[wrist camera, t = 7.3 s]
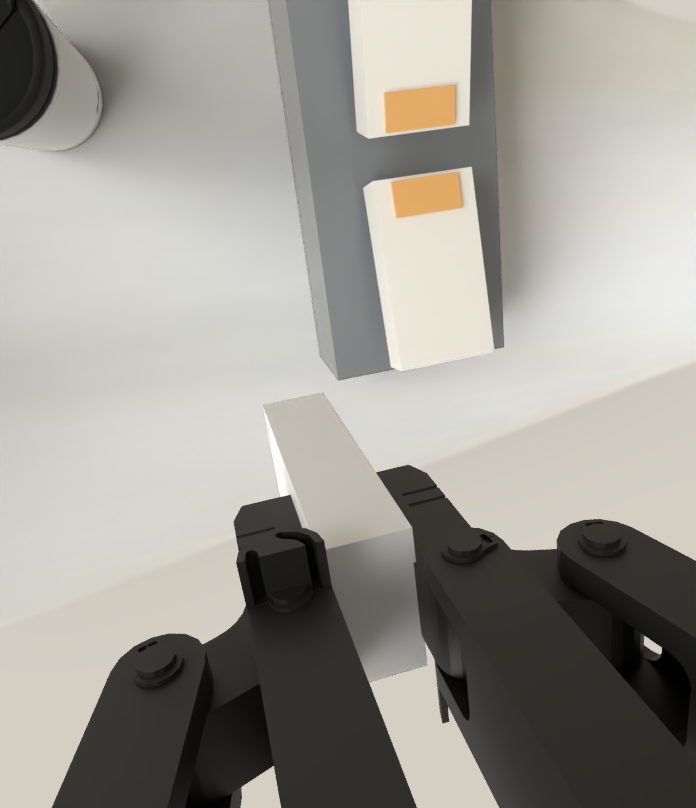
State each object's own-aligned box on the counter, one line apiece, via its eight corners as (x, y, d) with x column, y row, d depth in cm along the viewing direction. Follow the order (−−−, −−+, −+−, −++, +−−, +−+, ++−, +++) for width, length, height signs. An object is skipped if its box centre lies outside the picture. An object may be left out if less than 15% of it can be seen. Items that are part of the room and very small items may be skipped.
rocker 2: (391, 367, 42) (403, 371, 39) (362, 187, 40) (374, 180, 37) (478, 349, 43) (496, 352, 40) (456, 174, 41) (473, 165, 38)
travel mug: (128, 90, 41) (89, 31, 23) (61, 173, 42) (-30, 180, 23) (38, 7, 38) (-88, -135, 20) (-32, 96, 39) (-215, 36, 21)
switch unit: (320, 356, 50) (342, 386, 43) (257, -71, 40) (274, -118, 33) (475, 326, 52) (519, 350, 45) (453, -85, 42) (505, -132, 35)
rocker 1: (356, 131, 39) (369, 139, 36) (341, -105, 33) (355, -113, 31) (452, 118, 40) (470, 125, 37) (454, -112, 34) (476, -120, 32)
